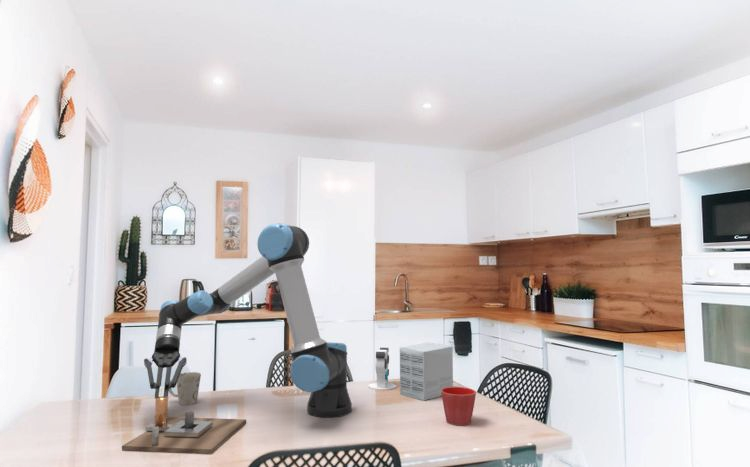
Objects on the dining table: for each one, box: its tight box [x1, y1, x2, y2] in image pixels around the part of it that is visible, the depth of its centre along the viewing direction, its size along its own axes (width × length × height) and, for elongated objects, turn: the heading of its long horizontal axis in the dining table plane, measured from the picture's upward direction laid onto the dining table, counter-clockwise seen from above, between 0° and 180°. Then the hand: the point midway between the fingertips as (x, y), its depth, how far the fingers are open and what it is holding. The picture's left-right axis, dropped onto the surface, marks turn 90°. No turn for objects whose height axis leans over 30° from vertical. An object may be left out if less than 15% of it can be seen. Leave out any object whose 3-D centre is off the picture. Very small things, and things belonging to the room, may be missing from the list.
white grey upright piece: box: [368, 347, 397, 391], centre depth 199 cm, size 12×11×15 cm
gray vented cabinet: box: [399, 342, 454, 402], centre depth 188 cm, size 17×13×18 cm
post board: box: [121, 410, 247, 455], centre depth 141 cm, size 25×25×7 cm
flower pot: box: [441, 386, 477, 426], centre depth 154 cm, size 11×11×10 cm
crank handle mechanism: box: [145, 395, 213, 437], centre depth 142 cm, size 18×10×9 cm, turn 85°
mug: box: [168, 371, 202, 406], centre depth 176 cm, size 8×13×10 cm, turn 78°
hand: (160, 408), depth 145 cm, fingers closed
